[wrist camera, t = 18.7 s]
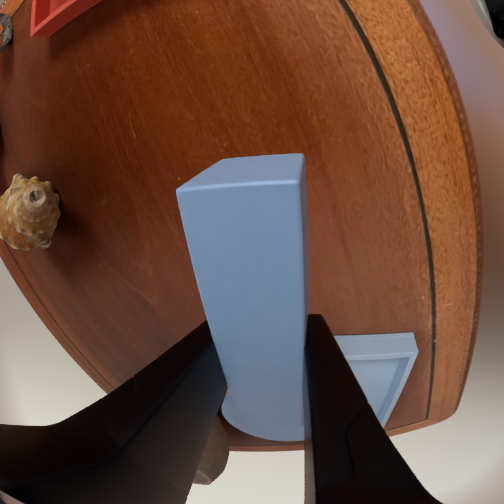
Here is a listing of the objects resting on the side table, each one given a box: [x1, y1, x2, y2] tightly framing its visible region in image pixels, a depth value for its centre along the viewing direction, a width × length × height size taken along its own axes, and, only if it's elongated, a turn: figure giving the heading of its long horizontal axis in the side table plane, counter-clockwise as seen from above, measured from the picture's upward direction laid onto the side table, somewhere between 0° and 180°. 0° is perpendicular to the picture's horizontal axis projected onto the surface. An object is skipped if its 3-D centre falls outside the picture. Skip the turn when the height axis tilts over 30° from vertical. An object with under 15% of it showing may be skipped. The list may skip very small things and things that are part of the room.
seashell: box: [0, 174, 60, 251], centre depth 19 cm, size 9×8×10 cm
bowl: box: [113, 387, 229, 485], centre depth 29 cm, size 17×18×10 cm
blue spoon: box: [176, 153, 310, 441], centre depth 9 cm, size 12×5×3 cm, turn 7°
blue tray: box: [334, 332, 418, 427], centre depth 24 cm, size 16×11×2 cm
